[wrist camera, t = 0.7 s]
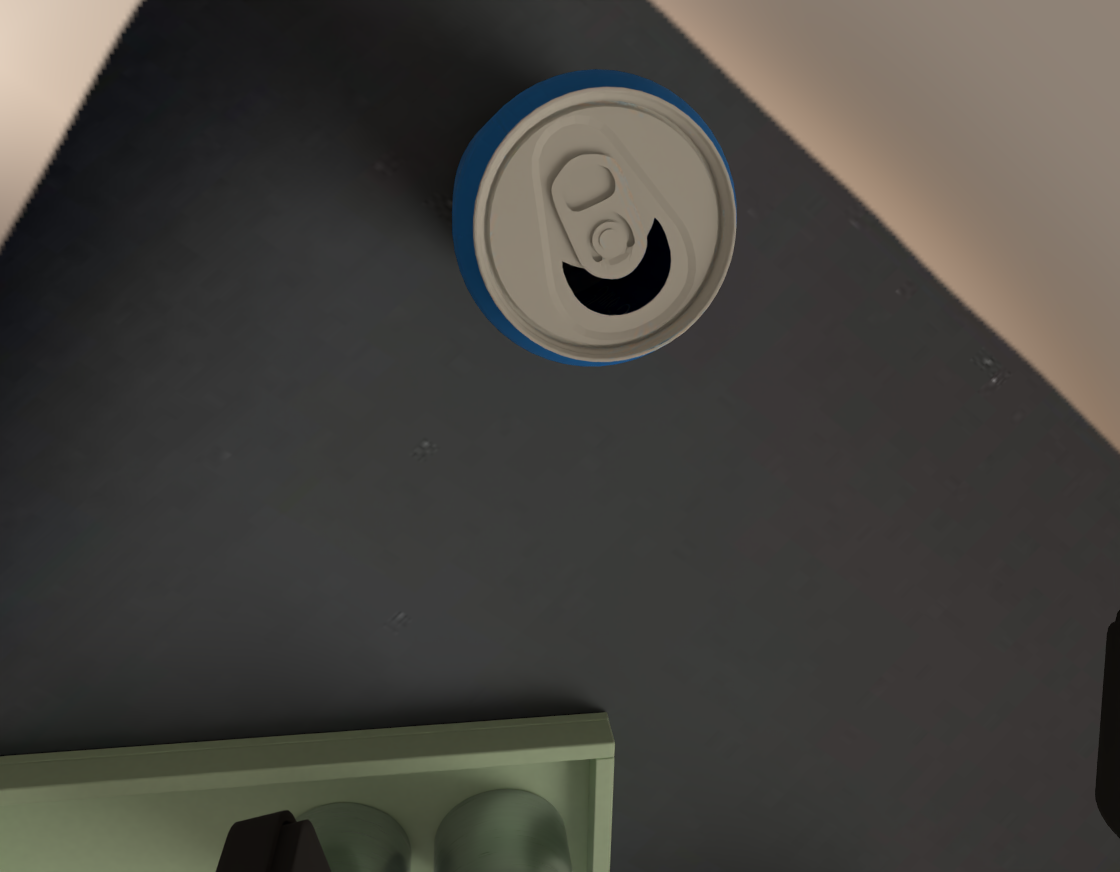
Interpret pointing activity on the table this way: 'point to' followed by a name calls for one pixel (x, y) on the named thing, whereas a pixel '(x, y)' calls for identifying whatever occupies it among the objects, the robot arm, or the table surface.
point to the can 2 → (502, 835)
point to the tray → (295, 790)
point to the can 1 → (360, 838)
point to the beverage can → (594, 217)
